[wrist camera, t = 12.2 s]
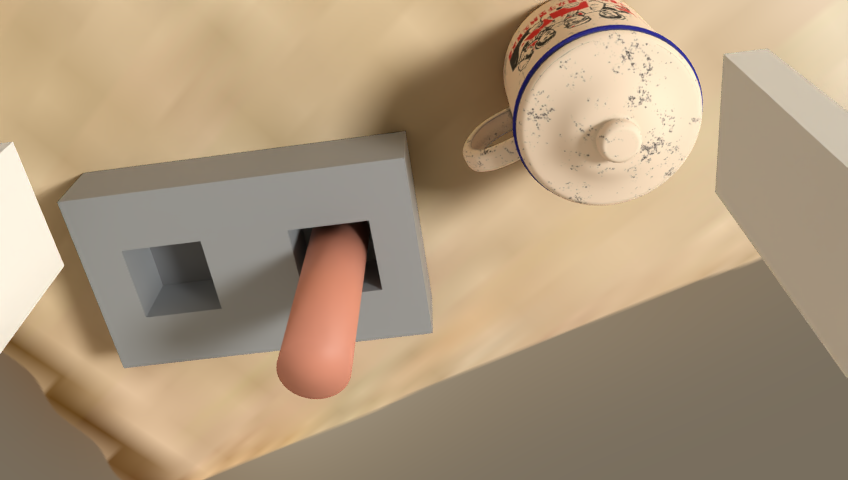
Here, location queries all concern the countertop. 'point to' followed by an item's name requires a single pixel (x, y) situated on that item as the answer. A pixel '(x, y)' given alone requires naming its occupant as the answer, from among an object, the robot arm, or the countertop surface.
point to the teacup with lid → (592, 104)
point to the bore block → (244, 245)
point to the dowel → (325, 312)
